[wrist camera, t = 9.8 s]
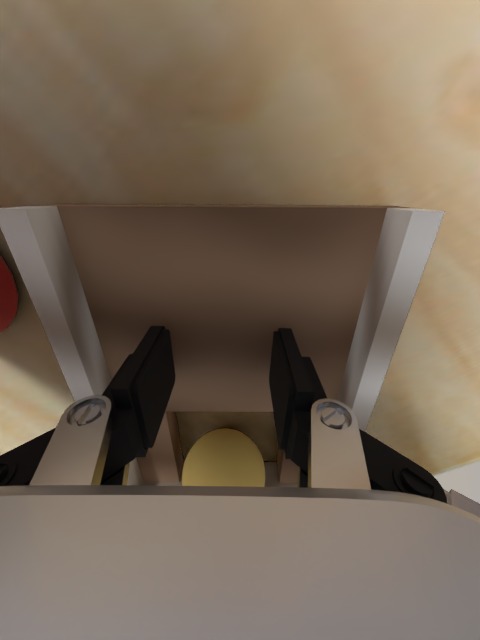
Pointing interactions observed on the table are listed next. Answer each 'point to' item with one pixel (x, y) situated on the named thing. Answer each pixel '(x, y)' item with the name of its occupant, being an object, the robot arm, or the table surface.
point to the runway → (222, 300)
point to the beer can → (7, 296)
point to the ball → (224, 461)
